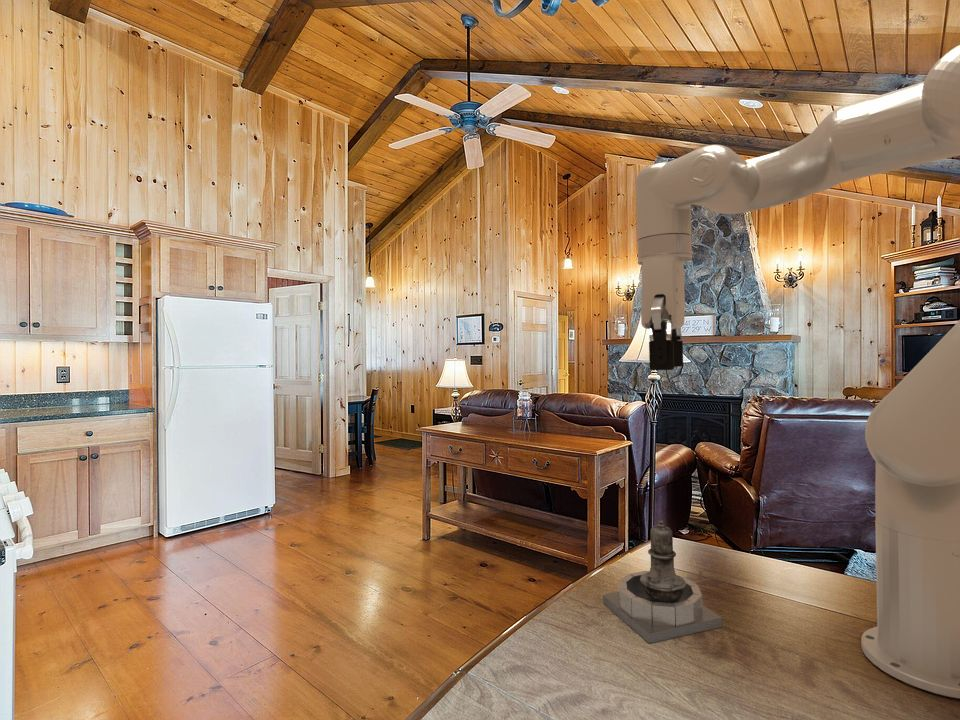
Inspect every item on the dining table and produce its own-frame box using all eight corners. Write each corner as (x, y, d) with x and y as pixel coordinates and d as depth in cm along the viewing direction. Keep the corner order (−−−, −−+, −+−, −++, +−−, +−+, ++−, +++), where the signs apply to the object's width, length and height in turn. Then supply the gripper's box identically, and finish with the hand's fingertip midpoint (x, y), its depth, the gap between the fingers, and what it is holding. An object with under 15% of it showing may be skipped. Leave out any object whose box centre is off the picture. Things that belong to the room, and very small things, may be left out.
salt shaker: (668, 622, 67) (666, 529, 67) (631, 604, 72) (629, 518, 72) (695, 608, 71) (693, 519, 71) (658, 592, 76) (656, 509, 75)
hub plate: (668, 590, 79) (667, 565, 79) (722, 626, 68) (721, 598, 68) (603, 603, 75) (602, 577, 75) (649, 643, 65) (648, 613, 65)
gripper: (648, 262, 87) (651, 365, 87) (625, 245, 71) (628, 371, 72) (697, 257, 83) (700, 365, 83) (684, 238, 68) (687, 371, 68)
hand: (667, 368), depth 78 cm, fingers open, 9 cm apart
